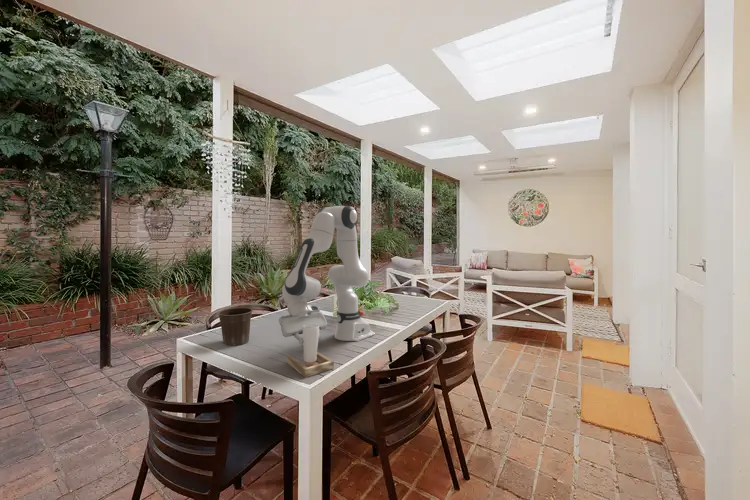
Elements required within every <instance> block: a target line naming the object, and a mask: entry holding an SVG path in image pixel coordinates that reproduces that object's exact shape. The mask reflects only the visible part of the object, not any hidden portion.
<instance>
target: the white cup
mask: <svg viewBox="0 0 750 500" xmlns="http://www.w3.org/2000/svg"><path fill="white" fill-rule="evenodd" d="M307 327H310V328H307ZM301 335H302V337H301V338H303V341H304V342H303V343H302V346H303V347H302V348H303V350H302V351H303V361H304V362H305V363H312V362H317V352H318V348H319V347H318V346H319V345H318V344H319V340H318V338H319V335H320V333H319V325H317V324H306V325H303V331H302V334H301Z"/></svg>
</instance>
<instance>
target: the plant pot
mask: <svg viewBox="0 0 750 500" xmlns="http://www.w3.org/2000/svg"><path fill="white" fill-rule="evenodd" d="M217 314H218V319H219V321H220V327H221V335H222V343H223V345H224V346H228V347H229V346H231V347H232V346H241V345H244V344H246V343H247V344H248V342H249V341H250V334H251V333H250V330H251V319H252V314H253V309H252V308H251V307H231V308H226V309H222V310H220V311H218V312H217Z"/></svg>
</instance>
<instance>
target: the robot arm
mask: <svg viewBox="0 0 750 500" xmlns="http://www.w3.org/2000/svg"><path fill="white" fill-rule="evenodd" d="M358 220H359V218H358V211H357V210H356V208H355V207H354V206H350V205H335V206H329V207H327V206H326V207H321V208H320V209H319V210H318V212H317V214H316V215H315V218H314V220H313V222H312V225H311V228H310V230H309V233H308V237H306V239H304V240H303V242H302V243H301V245H300V246H299V249H298V251H297V254H296V257H295V258H294V261H293V264H292V266H291V269H290V270H289V272H288V273H287V276H286V278H285V279H284V284H283V286H282V288H281V289H282V290H281V291H282V297H283V301H284V304H285V305H286V306H287V312H288V314H287V315H282V316H280V317H279V318H278V323H279V326H280V330H281V334H282V336H283V337H284V338H289V337H294V338H295V340H297V341H298V343H299V344H302V345H303V342H304V341H303V337H301V336H300V335H302V331H303V325H306V324H317V325H319V338H318V341H320V339H321V336H320V334H321V333H320V332H321V330H322V331H323V330H325V329H326V328H327V326H328V322H327V319H326V317H325V314H324V313H323V312H321V307H320V306H318V305H317V306H316V305H311V304H308V302H310V301H313V300H315V299H316V298H317V297H319V295H320V294H321V292H322V284H321V281H320V280H319V279H317V278H315V277H312V276H310V275H307V274H306V271H307V268H308V265H309V263H310V260H311V258H312V256H313V255H314V254H316V253H323V252H326V251H328V250H329V249H330V247H331V245H332V243H333V239H334V235H335V229H336V255H337V256H338V257H339V259H340V260H341V262H342V264H335V265H332V266H330V268H329V270H328V273H327V277H328V279H329V281H330V282H331V284H332V285H333V287H334V290H335V293H336V299H337V301H336V302H337V310H336V328H335V332H334V339H336V340H338V341H344V342H350V341H351V342H359V341H362V340H364V339H367V338H369V337H372V335H373V336H374V335H375V332H374V331H373V330H371V326H370V323H369V322H368V321H366V320H365V319H364V318H362V316H364V315H365V311H361V310H359V297H358V295H357V294H356V292H354V289H353V288H363V287H365V286H366V285H367V284H368V282H369V279H370V275H369V272H368V270H367V269H366V268H365V266H364V265H363V264H362V262H361V259H360V256H359V251H358V250H359V249H358V232H357V226H356V224H357V222H358ZM307 328H310V327H307Z"/></svg>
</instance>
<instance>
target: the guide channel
mask: <svg viewBox="0 0 750 500" xmlns="http://www.w3.org/2000/svg"><path fill="white" fill-rule="evenodd" d="M286 364H288V365H289V366H290V367H291V368H293V369H294V370H295V371H297V372H298V373H299V374H300V375H302V376H303V377H304V378H308V377H311V376H314V375H317V374H320V373H324V372H326V371H331V370H334V369H335V362H334V361H333V359H330V358H329V357H327V356H326V355H324V354H322V353H321V352H318V351H317V360H316V361H315V362H312V363H307V362H305V363H302V362H300V361H299V360H297V359H296V358H295V357H293V356H292V355H289V354H288V355H286Z"/></svg>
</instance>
